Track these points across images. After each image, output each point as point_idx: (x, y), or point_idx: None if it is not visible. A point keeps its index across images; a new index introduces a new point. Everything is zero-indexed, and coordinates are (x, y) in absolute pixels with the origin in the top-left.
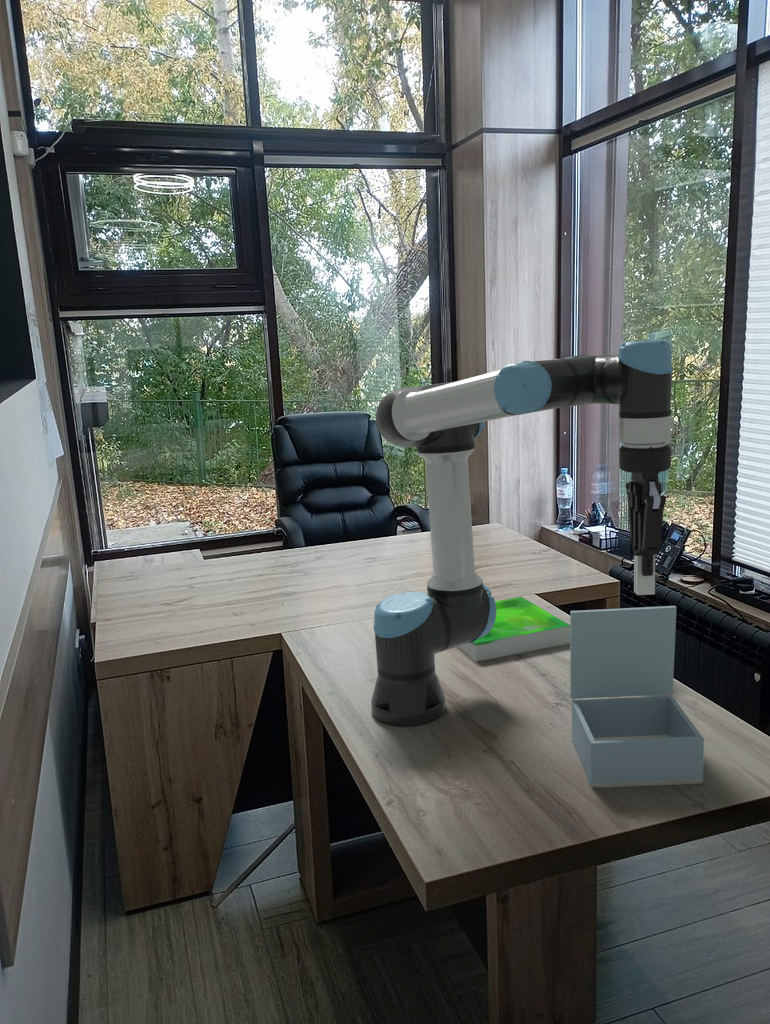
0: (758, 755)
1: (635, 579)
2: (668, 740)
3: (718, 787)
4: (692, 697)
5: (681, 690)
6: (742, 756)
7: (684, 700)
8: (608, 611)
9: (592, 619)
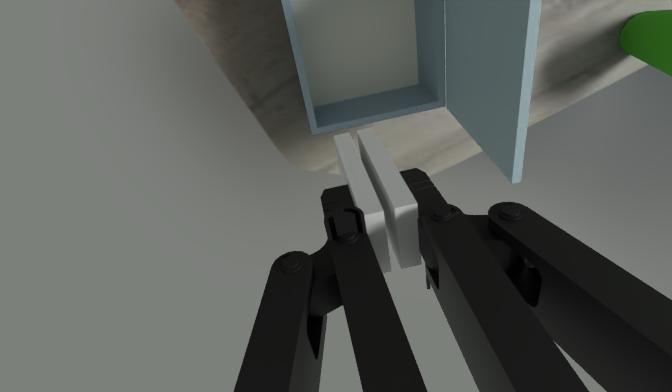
0: None
1: (366, 151)
2: (301, 88)
3: (301, 128)
4: None
5: (549, 112)
6: None
7: None
8: (526, 22)
9: None
